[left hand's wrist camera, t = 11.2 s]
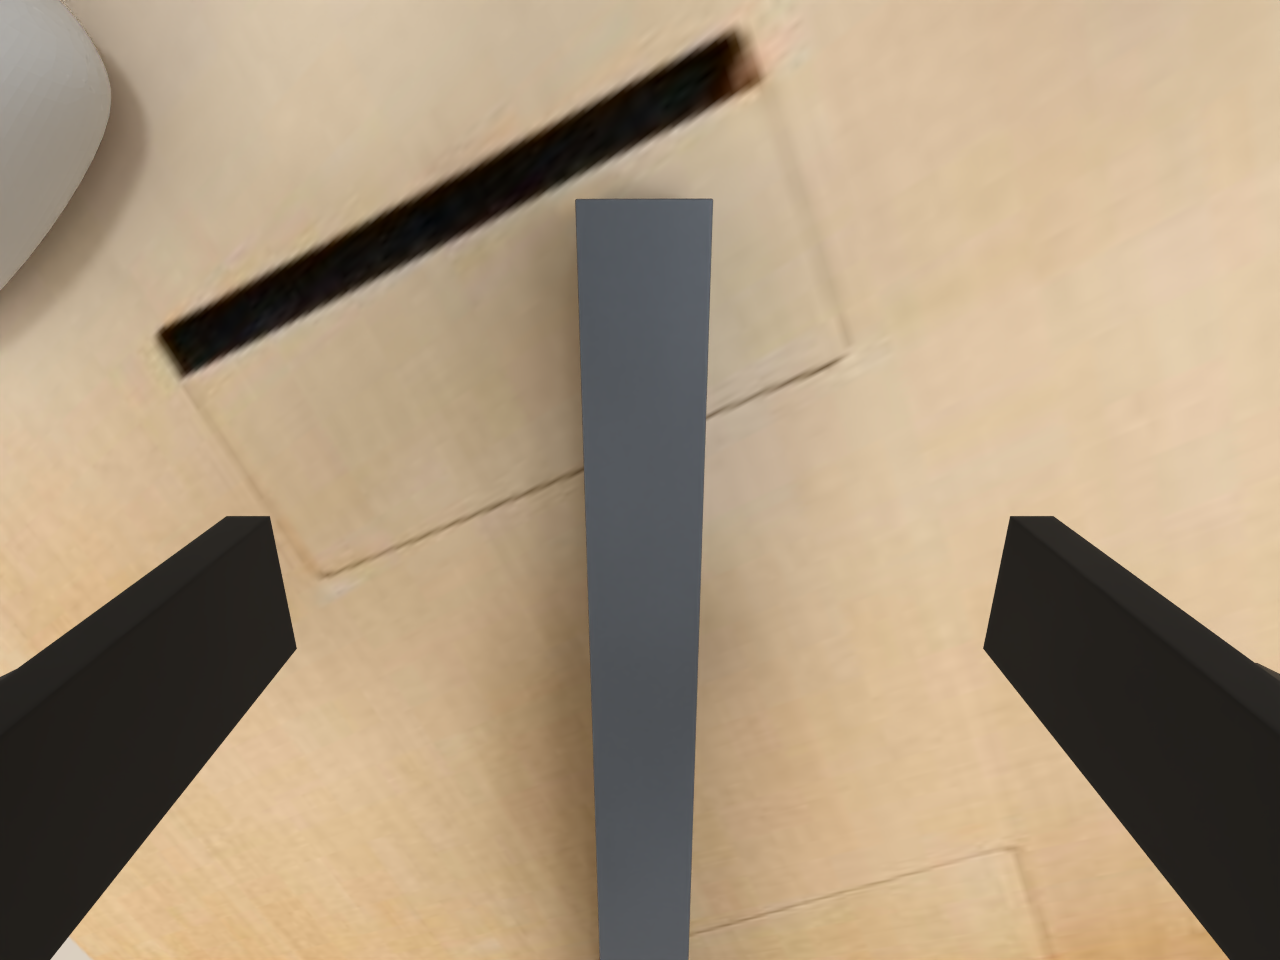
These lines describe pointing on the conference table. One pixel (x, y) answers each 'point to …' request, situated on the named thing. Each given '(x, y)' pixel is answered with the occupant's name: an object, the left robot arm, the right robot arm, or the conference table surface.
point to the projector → (44, 120)
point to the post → (644, 551)
